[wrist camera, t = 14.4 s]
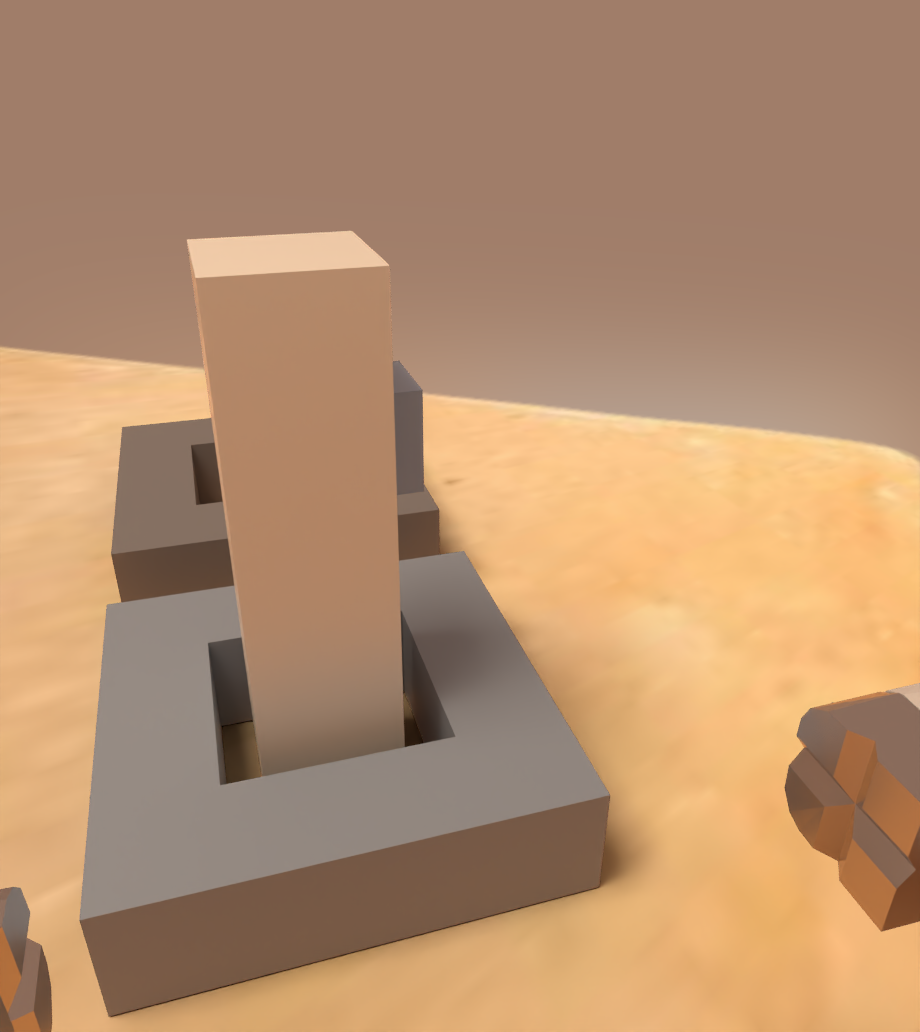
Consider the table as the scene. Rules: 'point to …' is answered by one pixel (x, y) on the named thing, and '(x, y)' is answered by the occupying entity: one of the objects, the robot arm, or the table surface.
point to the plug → (311, 483)
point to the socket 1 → (200, 514)
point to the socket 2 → (320, 800)
